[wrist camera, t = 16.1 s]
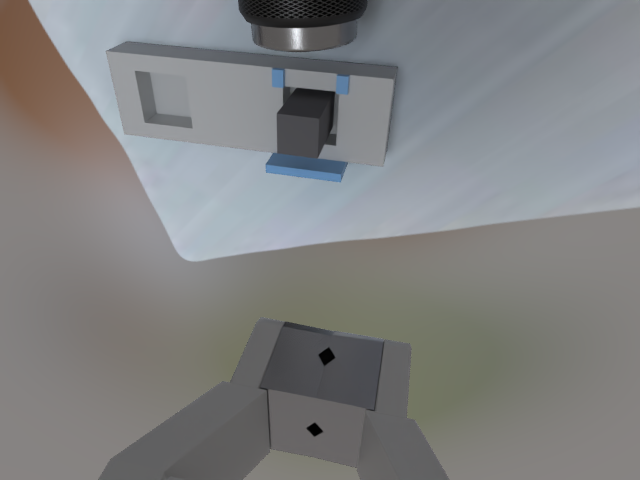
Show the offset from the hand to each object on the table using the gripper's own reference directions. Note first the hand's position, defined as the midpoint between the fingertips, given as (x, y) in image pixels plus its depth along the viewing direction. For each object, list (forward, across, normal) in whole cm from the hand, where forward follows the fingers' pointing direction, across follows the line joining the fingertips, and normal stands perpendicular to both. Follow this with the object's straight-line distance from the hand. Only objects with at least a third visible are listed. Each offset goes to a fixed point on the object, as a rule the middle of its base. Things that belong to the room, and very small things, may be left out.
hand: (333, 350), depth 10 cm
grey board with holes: (+37, +14, +9) cm, 41 cm away
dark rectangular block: (+36, +8, +9) cm, 38 cm away
